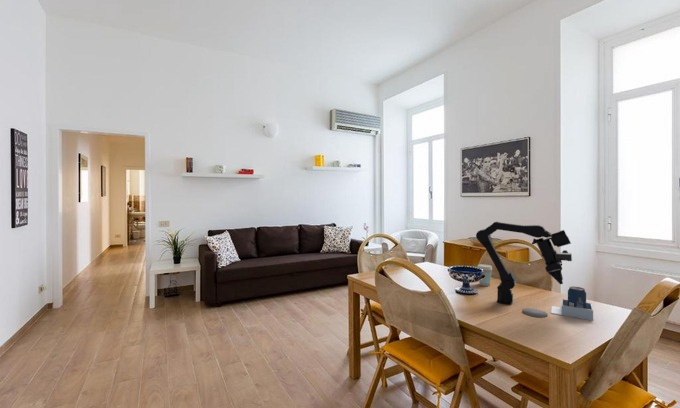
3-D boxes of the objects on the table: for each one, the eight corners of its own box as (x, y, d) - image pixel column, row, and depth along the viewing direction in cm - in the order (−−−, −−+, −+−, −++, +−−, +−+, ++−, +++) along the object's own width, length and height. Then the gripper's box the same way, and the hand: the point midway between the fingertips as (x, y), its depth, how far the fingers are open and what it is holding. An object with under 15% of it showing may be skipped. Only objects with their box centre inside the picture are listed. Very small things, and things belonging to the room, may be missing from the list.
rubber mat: (521, 314, 151) (521, 313, 151) (523, 308, 159) (523, 307, 159) (547, 318, 145) (547, 317, 145) (547, 312, 154) (547, 311, 154)
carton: (551, 313, 152) (551, 303, 152) (552, 304, 165) (552, 295, 165) (593, 320, 144) (593, 310, 144) (590, 310, 156) (590, 301, 156)
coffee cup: (495, 286, 199) (495, 266, 199) (484, 287, 196) (484, 267, 196) (484, 282, 207) (484, 263, 207) (473, 283, 204) (474, 264, 204)
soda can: (574, 310, 156) (575, 285, 156) (589, 315, 149) (590, 289, 149) (563, 312, 154) (564, 286, 154) (578, 317, 147) (579, 290, 147)
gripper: (566, 247, 146) (582, 281, 143) (565, 242, 161) (580, 273, 158) (538, 254, 152) (554, 287, 148) (541, 249, 167) (554, 279, 164)
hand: (561, 281), depth 155 cm, fingers open, 9 cm apart
